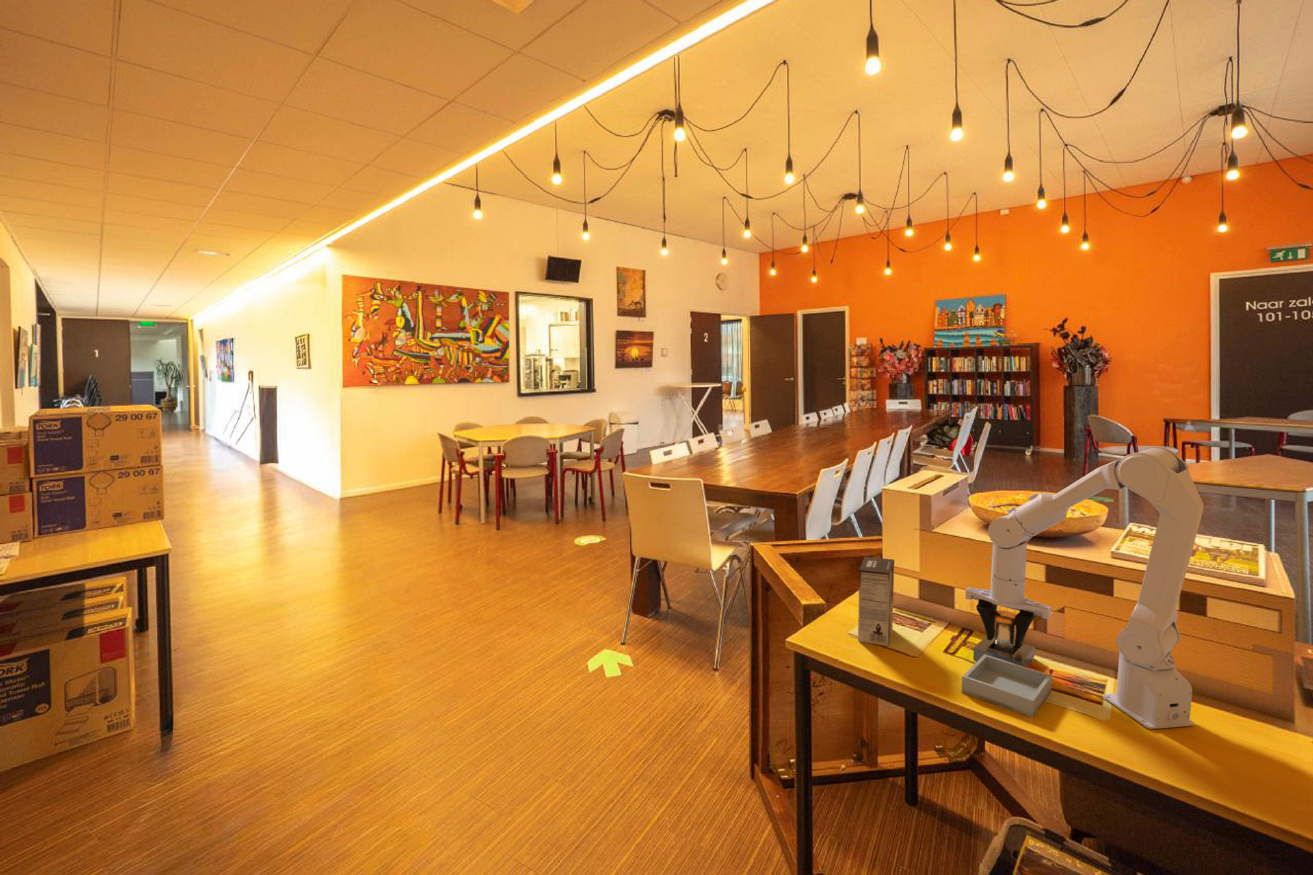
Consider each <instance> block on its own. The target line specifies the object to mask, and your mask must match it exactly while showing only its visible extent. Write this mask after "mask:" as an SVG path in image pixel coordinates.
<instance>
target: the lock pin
mask: <svg viewBox="0 0 1313 875" xmlns="http://www.w3.org/2000/svg"><path fill="white" fill-rule="evenodd" d="M1017 614H1018V613H1015V612H1012V611H1008V610H996V611H994V612H993V615H992V619H993V620H994V621H995V650H998V651H1002V652H1005V653H1008V654H1012V655H1013V653H1014V641H1015V636H1016V621H1015V616H1016V615H1017Z"/></svg>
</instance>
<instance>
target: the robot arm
mask: <svg viewBox="0 0 1313 875" xmlns="http://www.w3.org/2000/svg"><path fill="white" fill-rule="evenodd" d="M1124 488H1127V489H1128V490H1130V491H1131V492H1133V493H1135V494H1137V495H1139V496H1140V497H1142V498H1143V499H1145V500H1147V501H1148V502H1149V504H1151V505H1152V507H1153V508H1154V509H1156V511H1158V513H1159V517H1158V521H1157V524H1156V525H1157V526H1156V529H1155V533H1154V536H1153V540H1152V544H1151V547H1150V548H1151V549H1150V552H1149V555H1148V560H1147V563H1146V568H1145V572H1144V575H1143V579H1142V583H1141V587H1140V592H1139V595H1138V598H1137V603H1136V604H1135V606H1134V609H1133V610H1132V612H1131V615H1130V616H1129V620H1128V623H1127V625H1126V627H1124V628H1123V629H1122V630H1121V631H1119V633H1118V634H1117V637H1116V647H1117V649H1118V651H1119V654H1118V666H1117V667H1118V670H1117V681H1116V691H1115V692H1113V693H1103V694H1102V699H1105V701H1107V702H1108V703H1110V704H1111V705H1113V706H1115V707H1116V708H1118V709H1119V710H1121V711H1122V712H1123V713H1125V714H1126V715H1128V716H1129V717H1131V718H1132V719H1134V720H1135V721H1137V722H1138V723H1139V724H1141V725H1142V726H1144V727H1145V728H1147V729H1149V730H1153V729H1166V728H1168V729H1169V728H1178V727H1191V726H1194V724H1195V723H1194V721H1193V720H1192V719H1191V708H1192V699H1193V688H1192V685H1191V683H1190V682H1189V680H1188V679H1186V678H1185V677H1184V676H1183V675H1181V673H1180V672H1179V671H1178V670H1177V668H1176V661H1175V659H1174V656H1173V654H1172V652H1171V650H1172V649H1173V648H1175V647H1176V646H1177V645H1178V644H1179V642H1180V638H1181V636H1180V630H1179V628H1178V624H1177V623H1178V622H1177V621H1178V618H1179V613H1178V609H1177V607H1178V603H1179V601H1180V600H1179V599H1180V596H1181V593H1182V590H1183V585H1184V581H1185V578H1186V575H1187V571H1188V567H1189V564H1190V561H1191V560H1190V559H1191V557H1192V553H1193V549H1194V545H1195V542H1196V538H1197V535H1198V534H1197V533H1198V531H1199V528H1200V524H1201V519H1202V517H1203V513H1204V502H1203V500H1202V497H1201V496H1200V494H1199V492H1198V489H1197V487H1196V485H1195V482H1194V481H1193V478H1192V476H1191V474H1190V469H1189V464H1188V463H1186V461H1184V460H1183V459H1182V458H1181V457H1180V456H1178V455H1177V454H1176V453H1175V452H1174V451H1172V450H1171V449H1168V448H1166V447H1162V446H1150V447H1146V448H1144V449H1141V450H1140V451H1138V452H1134V453H1133V452H1132V453H1130V454H1127V455H1126V456H1124V457H1123V458H1120V459H1116V460H1114V461H1112V462H1109V463H1107V464H1103V465H1102V466H1099V467H1097V468H1095V469H1094V470H1092V471H1091V472H1089V473H1087V474H1085V476H1082V477H1081V478H1080V479H1077V480H1076V481H1075V482H1073V483H1072V484H1070V485H1069V486H1067V487H1065V488H1063V489H1062V490H1060V491H1058V492H1057V493H1055V494H1054V493H1049V492H1042V493H1040V494H1039V493H1037V492H1036V493H1033V494H1032V495H1030V496H1028V497H1027V498H1028V501H1027V502H1024V503H1023V504H1021V505H1020V506H1018V507H1011V508H1010V509H1008V510H1007V513H1008V514H1007V515H1003V516H998V517H996V518H994V520H993V521H992V522H991V523H990V524H989V525H988V529H987V533H988V534H987V535H988V537H989V539H990V541H991V542H992V553H991V570H990V571H991V572H990V575H991V576H990V589H985V588H984V589H983V588H977V587H972V586H969V587H968V588H966V589H965V599H966V600H975V601H978V602H977V604H976V607H975V608H976V611H977V613H978V614H979V616H980V619H981V621H982V623H983V626H984V629H985V633H986V636H987V640H990V641H991V640H992V639H993V638H994V636H996V622H995V621H994V620H993V619H992V615H993V612H994V611H998V610H997V608H998V606H999V607H1003V608H1007V609H1010V610H1014V611H1018V613H1016V614H1017V615H1016V616H1015V621H1016V625H1015V638H1014V641H1015V648H1018V649H1020V647H1021V646H1022V644H1024V639H1025V636H1026V634H1027V631H1028V629H1029V628H1030V626H1031V625H1032V622H1033V621H1034V619H1035V618H1036V616H1037V617H1038V616H1039V617H1041V618H1042V619H1044V620H1049V618H1051V616H1052V606H1050V605H1046V604H1043V603H1040V602H1038V601H1034V600H1032V599H1029V598H1027V597H1025V591H1026V590H1025V588H1026V574H1027V573H1026V571H1027V550H1028V549H1027V548H1028V542H1029V541H1030V540H1031V539H1032V538H1033V537H1035V536H1037V535H1039V534H1040V533H1041V534H1042V532H1045V531H1046V530H1049V529H1050V528H1052V527H1053V526H1056V525H1057V524H1059V523H1061V522H1063V521H1065V520H1066V518H1067V514H1068V509H1070V508H1072V507H1074V506H1075V505H1077V504H1080V503H1081V502H1083V501H1086V500H1087V499H1089V498H1091V497H1094V496H1095V495H1097V494H1099V493H1101V492H1103V491H1105V490H1117V491H1118V490H1123V489H1124Z"/></svg>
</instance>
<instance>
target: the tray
mask: <svg viewBox="0 0 1313 875" xmlns="http://www.w3.org/2000/svg"><path fill="white" fill-rule="evenodd" d="M961 678H962V679H961V693H963V694H965V695H968V696H971V697H973V698H976V699H980V700H982V701H984V702H988V703H990V704H993V705H996V706H998V707H1002V708H1005V709H1006V710H1007V709H1008V710H1010V711H1012V712H1015V713H1018V714H1021V715H1024V716H1026V717H1028V718H1031V719H1032V718H1034V716H1035V715H1036V713H1037V712H1039V709H1040V708H1041V706H1042V705H1043V703H1045V701H1046V699H1047V698H1048V697H1049V695H1050V693H1051V692H1052V685H1053V675H1052V674H1050V673H1046V672H1042V671H1040V670H1036V669H1033V668H1030V667H1024V666H1021V665H1017V664H1014V663H1011V662H1008V661H1004V660H1001V659H998V658H995V657H992V656H988V655H985V654H984V655H983V656H982V657H981V658H980V659H979V660H978V661H976V662H975V663H974V664H973V665H972V666H971V667H970V668H969V669H968V670H967V671H966V672H965V673H964V674H963V675H962V677H961Z"/></svg>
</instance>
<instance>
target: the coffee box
mask: <svg viewBox="0 0 1313 875" xmlns="http://www.w3.org/2000/svg"><path fill="white" fill-rule="evenodd" d="M858 570H859V571H858V573H859V574H858V619H857V620H858V622H857V623H858V624H857V625H858V626H857V629H858V630H857V638H858V639H857V640H858V642H859V643H867V644H872V645H873V644H874V645H880V646H884V647H889V646H888V645H890V643H891V642H890V641H891V637H892V633H893V623H894V621H893V619H894V615H893V614H894V611H893V610H894V584H895V583H894V580H895V576H894V573H895V572H894V571H895V559H890V558H881V557H871V556H870V557H869V556H864V557H863V560H862V562H861V565H860V567H859V569H858Z"/></svg>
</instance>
